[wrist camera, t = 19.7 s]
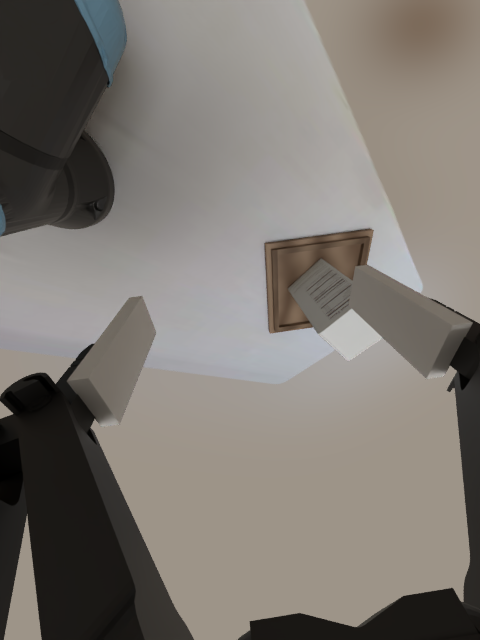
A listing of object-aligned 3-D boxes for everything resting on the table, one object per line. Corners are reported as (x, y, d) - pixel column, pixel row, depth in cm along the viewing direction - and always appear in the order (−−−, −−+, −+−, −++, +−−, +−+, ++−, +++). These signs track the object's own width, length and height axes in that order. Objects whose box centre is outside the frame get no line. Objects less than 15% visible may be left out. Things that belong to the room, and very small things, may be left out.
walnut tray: (268, 330, 55) (270, 335, 53) (264, 243, 43) (266, 245, 41) (352, 318, 55) (357, 323, 53) (370, 228, 44) (376, 230, 42)
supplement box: (286, 288, 48) (315, 333, 33) (320, 256, 45) (369, 291, 30) (312, 313, 52) (348, 363, 37) (345, 286, 49) (399, 329, 34)
